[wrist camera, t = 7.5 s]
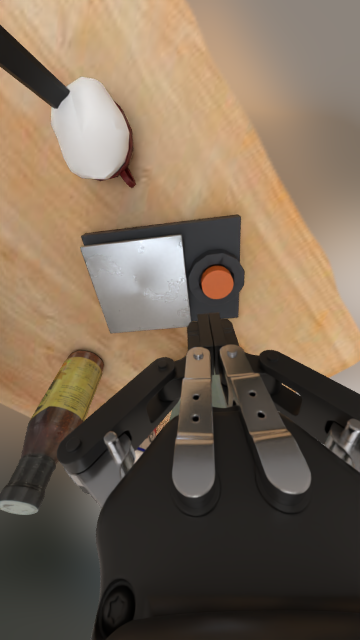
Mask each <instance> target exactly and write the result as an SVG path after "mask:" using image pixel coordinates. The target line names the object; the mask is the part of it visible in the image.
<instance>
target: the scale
mask: <svg viewBox="0 0 360 640" xmlns="http://www.w3.org/2000/svg"><path fill="white" fill-rule="evenodd" d="M240 229H241V216H239V215H230V216H222V217H214V218H206V219H198V220H190V221H182V222H174V223H165V224H157V225H149V226H141V227H133V228H125V229H117V230H109V231H101V232H93V233H85V234H84V235H82V236H81V238H82V241H83V244H84V246H85V245H93V244H101V243H110V242H118V241H127V240H135V239H143V238H152V237H160V236H168V235H177V234H182V243H183V252H184V261H185V270H186V279H187V289H188V298H189V307H190V316H191V322H192V321H198V320H197V314H206V313H218V312H219V315H220V318H221V319H226V318H237V317H238V309H239V292H240V290H241V289H242V287H243V286H244V269H243V268H242V266H241V264H240ZM212 266H223V267H225V268H226V269H228V270H229V272H230V274H231V276H232V278H233V283H234V284H233V289H232V291H231V292H230V293H229V294H228V295H227V296H226V297H224V298H221V299H212V298H209V297H208V296H206V295H205V294H204V292H203V290H202V284H201V277H202V275H203V273H204V272H205V270H207V269H208V268H210V267H212Z"/></svg>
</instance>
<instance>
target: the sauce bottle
mask: <svg viewBox="0 0 360 640" xmlns="http://www.w3.org/2000/svg"><path fill="white" fill-rule="evenodd" d="M102 371H103V362H102V360H101V359H100V358H99V357H98V356H97V355H95V354H93V353H92V352H88V351H76V352H74V353H72V354H71V355H70V356H69V357H68V359H67V360H66V361H65V362H64V363H63V365H62V367H61V369H60V370H59V372H58V374H57V375H56V377H55V379H54V380H53V382H52V384H51V385H50V387H49V389H48V391H47V392H46V394H45V396H44V397H43V399H42V401H41V403H40V404H39V406H38V408H37V409H36V411H35V413H34V414H33V416H32V418H31V420H30V421H29V423H28V427H27V432H26V436H25V441H24V446H23V450H22V455H21V459H20V461H19V464H18V466H17V468H16V470H15V472H14V473H13V475H12V477H11V479H10V481H9V483H8V485H6V486H5V487H4V488H3V490H2V491H1V493H0V509H1V510H3V511H6V512H10V513H14V514H21V515H28V514H33V513H36V512H37V511H38V510H39V508H40V506H41V504H42V501H43V499H44V495H45V489H46V487H47V484H48V482H49V480H50V477H51V475H52V472H53V471H54V470H55V468H56V463H57V462H58V461H59V460H58V458H57V449H58V446H59V444H60V443H61V441H62V440H63V439H64V438H65V437H66V436H67V435H68V434H70V433H71V432H72V431H73V430H74V429H75V428H77V427H78V426H79V425H80V424H81V423H82V422H84V421H85V418H86V415H87V413H88V410H89V408H90V405H91V402H92V400H93V397H94V394H95V392H96V389H97V386H98V384H99V381H100V379H101V376H102Z"/></svg>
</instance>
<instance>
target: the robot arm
mask: <svg viewBox="0 0 360 640" xmlns="http://www.w3.org/2000/svg"><path fill="white" fill-rule="evenodd" d="M197 320H198V321H196V322H190V323H189V325H188V326H187V333H188V352H187V355H186V356H185V357H184V358H182V359H180V360H178V361H175V362H174V361H173V360H172V359H171V358H167V357H163V358H159V359H156V360H155V361H154V362H152V363H151V364H150V365H149V366H148V367H147V368H145V369H144V370H143V371H142V372H141V373H140V374H138V375H137V376H136V377H135V378H134V379H133V380H131V381H130V382H129V383H128V384H127V385H126V386H124V387H123V388H122V389H121V390H120V391H119V392H117V393H116V394H115V395H114V396H113V397H112V398H110V399H109V400H108V401H107V402H106V403H105V404H103V405H102V406H101V407H100V408H99V409H98V410H96V411H95V412H94V413H93V414H92V415H91V416H89V417H88V418H87V419H86V420H85V421H84V422H82V423H81V424H80V425H79V426H78V427H77V428H75V429H74V430H73V431H72V432H71V433H70V434H68V435H67V436H66V437H65V438H64V439H63V440H62V441H61V443H60V444H59V446H58V449H57V458H58V460H59V461H60V463H61V464H62V465H63V466H64V469H65V471H66V472H67V473H68V474H69V476H70V477H71V479H72V480H73V481H74V482H75V484H77V485H78V486H79V487H80V488H81V489H82V491H83V492H84V493H87V494H90V495H91V496H92V497H93V498H94V500H95V501H96V502H97V503H98V505H99V506H100V507H101V512H100V515H99V518H98V522H97V528H96V544H97V551H98V556H99V562H100V575H101V583H100V584H101V585H100V598H99V605H98V610H97V615H96V619H95V623H94V627H93V631H92V636H91V640H360V394H358V393H356V392H355V391H353V390H351V389H349V388H347V387H345V386H343V385H341V384H339V383H337V382H335V381H333V380H331V379H330V378H328V377H326V376H324V375H322V374H320V373H318V372H316V371H314V370H312V369H311V368H309V367H307V366H305V365H303V364H301V363H299V362H297V361H295V360H293V359H291V358H290V357H288V356H286V355H284V354H282V353H280V352H278V351H274V350H266V351H263V352H262V353H260V355H259V356H257V355H251V354H248V353H245V352H244V350H243V349H242V348H241V347H239V344H238V341H237V337H236V334H235V331H234V329H233V325H232V323H231V322H230V321H229V320H228V319H221V318H220V315H219V312H218V313H206V314H197ZM214 370H215V375H219V376H220V387H221V390H222V394H223V398H224V401H225V405H226V408H219V407H213V406H212V385H211V384H212V375H214ZM282 383H283V384H285V385H286V386H288V387H289V388H291V389H293V390H294V391H296V392H297V393H299V395H300V396H299V395H298V394H296V393H294V392H293V391H291V390H290V389H288V388H286V387H285V386H283V385H282ZM180 398H181V400H180ZM179 400H180V411H179V415H177V416H175V417H174V418H172V419H171V420H170V421H169V422H168V423H167V424H166V425H165V426H164V427H163V429H162V430H161V431H160V432H159V434H158V435H157V436H156V437H155V439H154V440H153V441H152V442H151V444H150V445H149V446H148V447H147V449H146V450H145V451H144V452H143V454H142V455H141V456H140V457H139V458H138V460H137V461H136V462H135V458H136V455H135V450H136V449H137V448H138V447H139V446H140V445H141V444H142V443H143V441H144V440H145V439H146V438H147V437H148V436H149V435H150V434H151V432H152V431H153V430H154V429H155V428H156V427H157V426H158V425H159V423H160V422H161V421H162V420H163V419H164V418H165V417H166V416H167V414H168V413H169V412H170V411H171V410H172V409H173V408H174V407H175V405H176V404H177V403H178V402H179ZM279 412H280V413H279ZM323 444H324V445H325V446H324V445H323ZM134 462H135V463H134Z"/></svg>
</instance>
